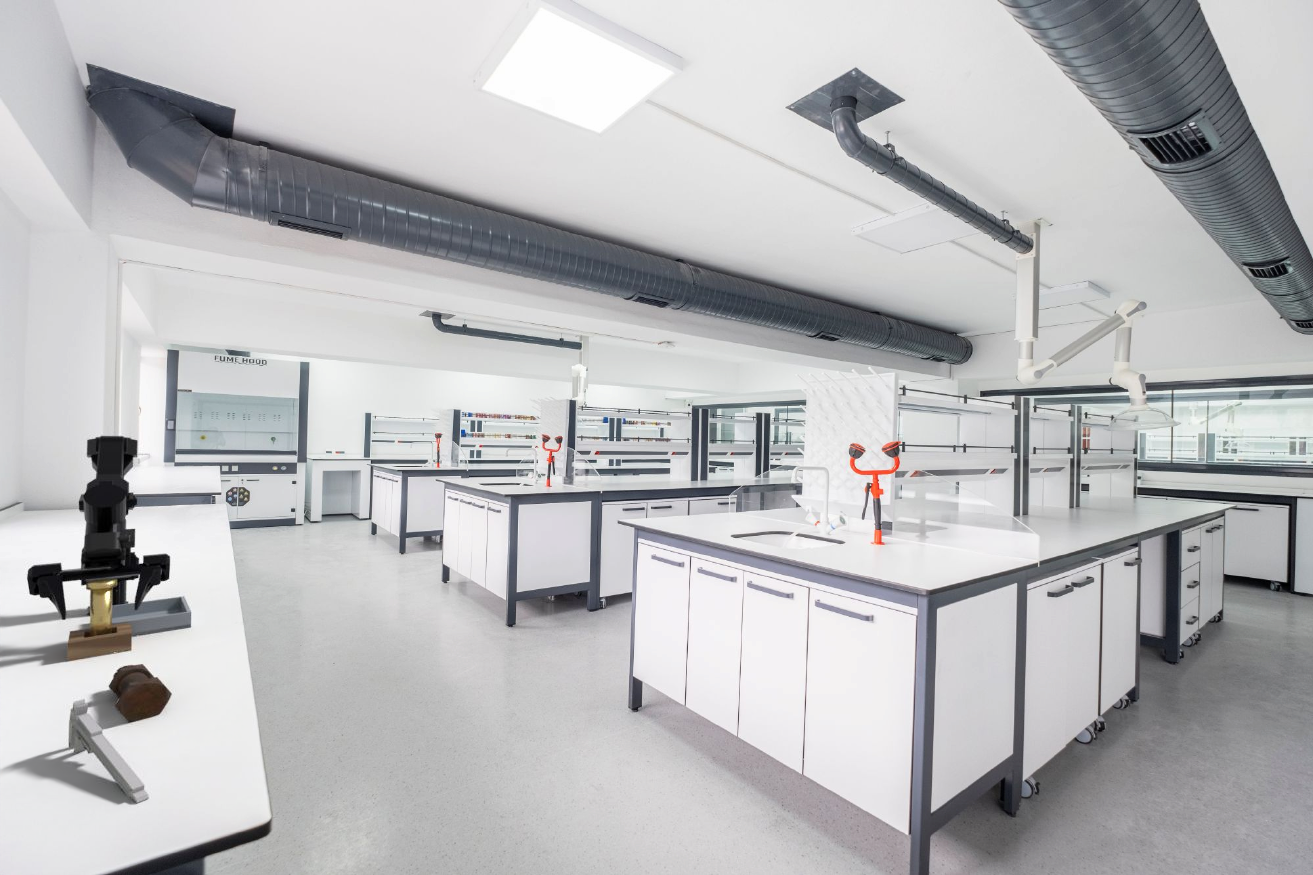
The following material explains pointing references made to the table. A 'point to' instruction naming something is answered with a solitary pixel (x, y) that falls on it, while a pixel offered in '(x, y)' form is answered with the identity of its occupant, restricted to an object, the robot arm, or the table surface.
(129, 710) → the bolt
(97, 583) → the pin
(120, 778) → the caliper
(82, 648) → the block
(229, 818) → the table surface
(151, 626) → the tray
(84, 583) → the robot arm
